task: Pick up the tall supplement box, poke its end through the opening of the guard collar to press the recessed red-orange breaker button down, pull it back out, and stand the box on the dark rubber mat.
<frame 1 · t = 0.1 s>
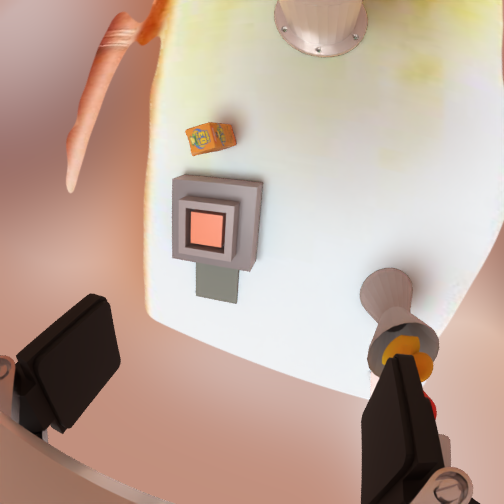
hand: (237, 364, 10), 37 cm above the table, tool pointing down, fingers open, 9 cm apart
milkshake: (380, 370, 52), on the table
rest mat: (217, 279, 52), on the table
breaker button: (209, 226, 43), point 5 cm above the table, slide at 0.0 cm
supplement box: (225, 137, 43), on the table
lava lamp: (386, 292, 46), on the table
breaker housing: (219, 217, 48), on the table
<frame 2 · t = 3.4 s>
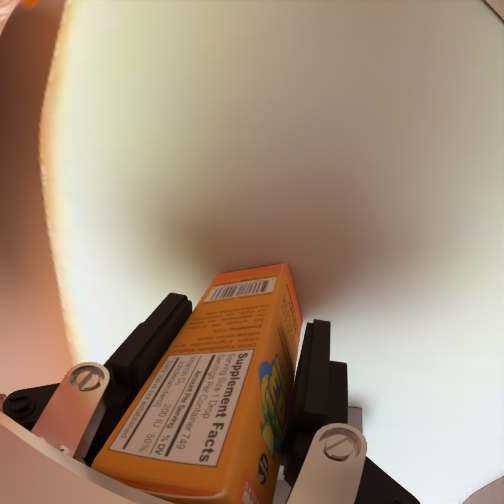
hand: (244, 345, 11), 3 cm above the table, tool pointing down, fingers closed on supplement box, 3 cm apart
supplement box: (264, 296, 14), on the table, touching gripper
lava lamp: (498, 489, 17), on the table
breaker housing: (245, 448, 18), on the table
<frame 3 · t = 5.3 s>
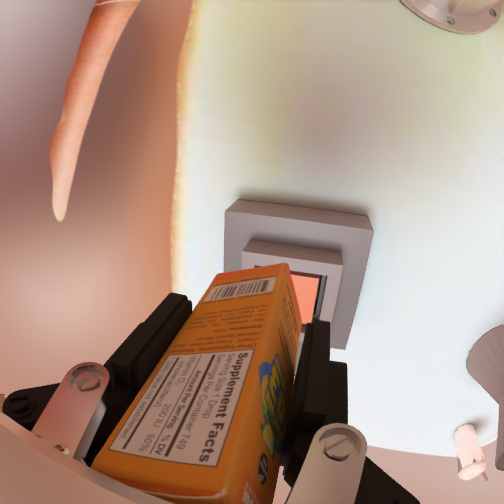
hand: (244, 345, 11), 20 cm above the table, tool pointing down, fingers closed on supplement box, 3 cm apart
milkshake: (465, 429, 35), on the table
breaker button: (290, 289, 27), point 4 cm above the table, slide at 0.0 cm
supplement box: (264, 295, 14), point 16 cm above the table, touching gripper
lava lamp: (494, 351, 29), on the table
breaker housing: (295, 266, 31), on the table
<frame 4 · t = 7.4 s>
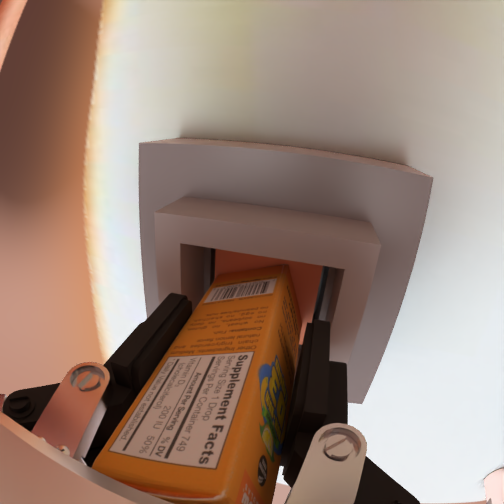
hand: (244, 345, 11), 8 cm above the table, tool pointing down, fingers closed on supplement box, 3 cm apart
milkshake: (496, 473, 22), on the table
breaker button: (269, 280, 15), point 3 cm above the table, slide at 1.7 cm, touching supplement box
supplement box: (265, 296, 14), point 4 cm above the table, touching breaker button, gripper
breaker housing: (278, 257, 17), on the table
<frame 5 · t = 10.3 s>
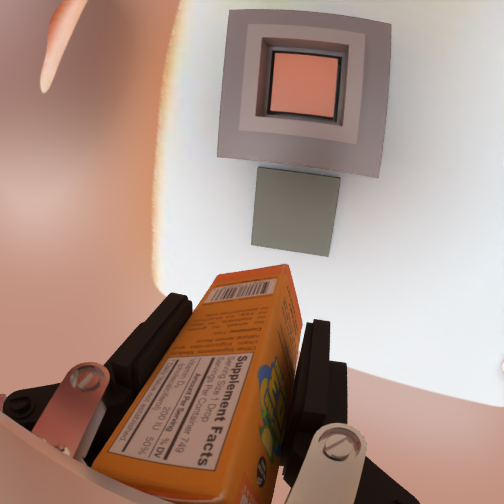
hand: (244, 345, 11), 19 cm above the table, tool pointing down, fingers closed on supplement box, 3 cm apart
rest mat: (294, 211, 28), on the table
breaker button: (305, 86, 21), point 3 cm above the table, slide at 1.6 cm
supplement box: (265, 296, 14), point 15 cm above the table, touching gripper
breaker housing: (307, 91, 24), on the table
when the fingers open (5 cm above the table, at t = 13.1 s): supplement box stays where it is, resting on rest mat.
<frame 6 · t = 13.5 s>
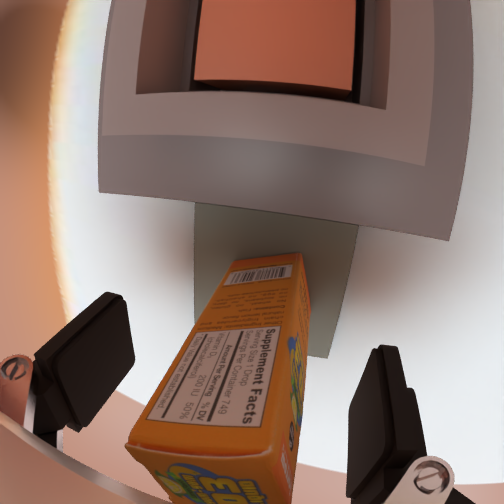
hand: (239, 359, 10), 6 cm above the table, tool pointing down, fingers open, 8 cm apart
rest mat: (268, 282, 15), on the table
breaker button: (282, 27, 8), point 3 cm above the table, slide at 1.6 cm
supplement box: (276, 283, 14), resting on rest mat
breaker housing: (291, 48, 11), on the table
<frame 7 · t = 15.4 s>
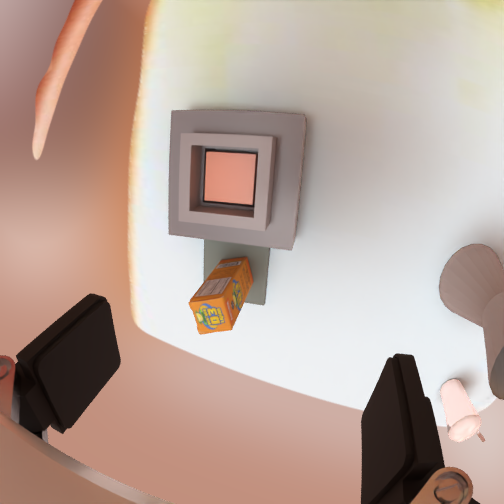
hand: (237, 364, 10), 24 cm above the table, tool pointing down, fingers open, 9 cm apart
milkshake: (451, 386, 35), on the table
rest mat: (235, 270, 35), on the table
breaker button: (233, 176, 29), point 3 cm above the table, slide at 1.6 cm
supplement box: (238, 270, 34), resting on rest mat
lava lamp: (470, 279, 30), on the table
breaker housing: (241, 173, 31), on the table
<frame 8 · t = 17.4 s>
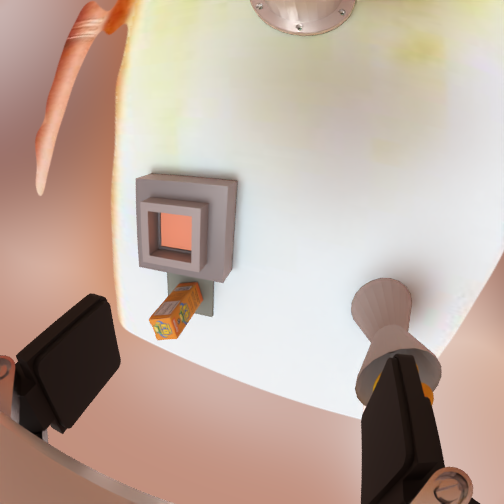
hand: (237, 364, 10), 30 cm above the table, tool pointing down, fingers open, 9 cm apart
rest mat: (190, 290, 46), on the table
breaker button: (182, 227, 39), point 3 cm above the table, slide at 1.6 cm
supplement box: (192, 290, 45), resting on rest mat
lava lamp: (381, 306, 41), on the table
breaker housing: (190, 221, 42), on the table
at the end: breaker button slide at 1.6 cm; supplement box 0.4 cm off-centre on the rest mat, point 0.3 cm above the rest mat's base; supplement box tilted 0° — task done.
